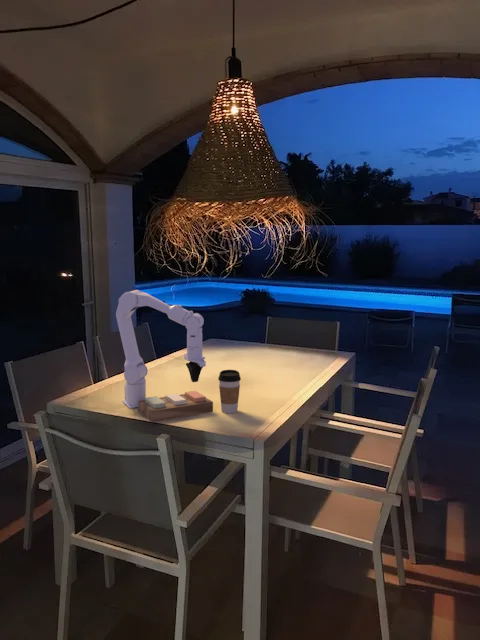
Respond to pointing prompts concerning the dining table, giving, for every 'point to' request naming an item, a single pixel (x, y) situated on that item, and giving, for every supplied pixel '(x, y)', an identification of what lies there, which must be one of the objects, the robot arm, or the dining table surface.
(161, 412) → the button board
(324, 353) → the dining table surface
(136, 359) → the robot arm
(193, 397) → the terracotta button
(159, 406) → the sage button
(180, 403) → the cream button
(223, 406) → the coffee cup
